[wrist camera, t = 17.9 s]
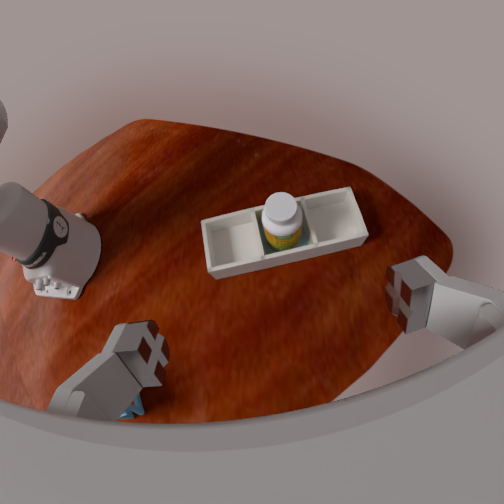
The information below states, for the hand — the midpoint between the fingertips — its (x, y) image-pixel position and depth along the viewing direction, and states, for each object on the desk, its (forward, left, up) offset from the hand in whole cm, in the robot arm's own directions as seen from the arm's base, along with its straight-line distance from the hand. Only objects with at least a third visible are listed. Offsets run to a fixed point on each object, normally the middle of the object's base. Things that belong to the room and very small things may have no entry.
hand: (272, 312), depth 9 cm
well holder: (+3, +14, -31) cm, 35 cm away
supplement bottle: (+3, +14, -30) cm, 34 cm away
